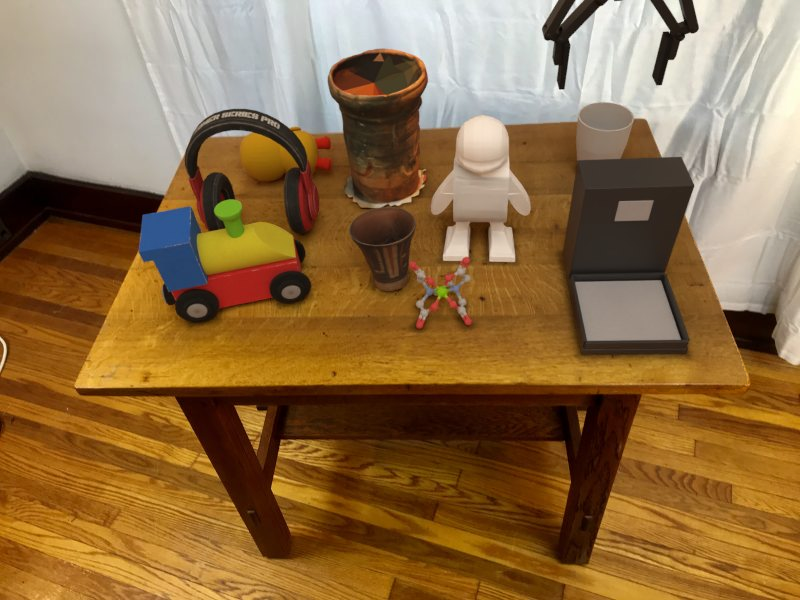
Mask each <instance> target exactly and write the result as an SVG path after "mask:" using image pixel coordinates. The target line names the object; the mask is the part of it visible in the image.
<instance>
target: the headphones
mask: <svg viewBox="0 0 800 600" xmlns="http://www.w3.org/2000/svg"><path fill="white" fill-rule="evenodd" d="M289 128H290V127H288V126H287V125H286V124H284V123H283V122H282V121H280V120H279V119H277V118H276V117H273V116H271V115H270V114H268V113H264V112H261V111H259V110H256V109H255V110H254V109H249V108H230V109H223V110H219V111H217V112H213V113H212V114H210V115H208V116H207V117H205V118H204V119H203V120H202V121H201V122H200V123H198V125H197V127H196V128H195V129H194V131H192V134H191V136H190V139H189V141H188V144H187V146H186V149H185V154H184V168H185V170H186V173H187V175H188V182H189V185H190V187H191V190H192V193H193V195H194V197H195V199H196V210H197V214H198V217H199V218H200V221H201V223H203V224H204V226H205V228H206V230H207V232H209V231H215V230H220V229H225V225H224V222H223V221H222V220H220V219H219V218H218V217H217V216H216V215H215V212H214V209H215V207H216V206H217V205H218V204H219V203H220V202H222V201H225V200H230V199H233V200H236V196H235V191H234V188H233V185H232V183H231V180H230V179H229V177H228V176H227V175H226V174H224V173H223V172H218V171H214V172H210V173H208V175H206V177H205V178H204V179H203V176H202V174H201V170H200V166H199V165H198V160H199V159H198V158H199V153H200V150H201V147H202V145H203V144H204V143H205V141H206V140H207V139H209V138H211V137H213V136H215V135H218V134H220V133H224V132H231V131H242V132H243V131H244V132H249V133H252V132H253V133H257V134H260V135H263V136H265V137H268V138H270V139H272V140H273V141H275V142H276V143H278V144H280V145H281V146H282V147H283V148H285V149H286V150H287V151H288V152H289V154H290V155H291V156H292V157H293V159H294V160H295V162H296V163H297V165H298V166H299V168H297V167H294V168H291V169H290V170H289V171H288V172H287V173H285V175H284V182H283V183H284V184H283V204H284V211H285V216H286V220H287V223H288V226H289V229H290V230H291V231H292V232H293V233H295V235H304V234H305V235H306V234H307V233H308V232H309V231H310V230H311V229H312V228H313V224H314V220H316V219H317V218H318V217H319V213H320V194H319V190H318V187H317V185H316V183H315V182H314V178H313V174H312V172H311V167H310V163H309V160H308V159H307V154H306V150H305V147H304V146H303V144H302V142H301V141H300V139H299V138H298V137H297V136H296V134H295V133H294V132H293V131H292V130H291V129H289Z"/></svg>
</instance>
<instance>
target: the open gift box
mask: <svg viewBox="0 0 800 600" xmlns="http://www.w3.org/2000/svg"><path fill="white" fill-rule="evenodd" d="M683 159H684V158H683V157H682V156H663V157H662V156H661V157H635V158H634V157H633V158H631V157H630V158H620V159H600V160H578V161H577V164H576V171H575V176H574V182H573V190H572V194H571V200H570V206H569V211H568V216H567V217H568V218H567V224H566V230H565V234H564V235H565V236H564V240H563V241H564V242H563V247H562V253H561V254H562V259H563V265H564V270H565V275H566V281H567V286H568V290H569V294H570V295H569V296H570V301H571V306H572V311H573V317H574V321H575V326H576V333H577V336H578V341H579V347H580V351H581V355H582V356H593V355H595V356H597V355H599V356H601V355H602V356H604V355H605V356H607V355H610V356H611V355H612V356H613V355H686V354H687V352H688V351H689V348H688V346H689V343H690V339H691V338H690V336H689V333H688V330H687V328H686V325H685V323H684V319H683V315H682V313H681V311H680V308H679V305H678V302H677V299H676V296H675V293H674V290H673V288H672V285H671V282H670V278H669V277H668V274H666V269H667V267H668V264H669V261H670V259H671V256H672V252H673V250H674V247H675V243H676V241H677V238H678V235H679V233H680V229H681V226H682V223H683V221H684V217H685V215H686V213H687V209H688V206H689V203H690V200H691V197H692V195H693V192H694V188H695V183H694V180H693V179H692V177H691V175H690V173H689V171H688V168H687V166H686V164H685V162H684V160H683Z"/></svg>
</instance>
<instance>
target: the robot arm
mask: <svg viewBox="0 0 800 600" xmlns="http://www.w3.org/2000/svg"><path fill="white" fill-rule="evenodd" d="M613 1H614V2H621V1H623V0H613ZM649 1H650V3H651V4H652V5H653V7H654V8H655V10H656V11H657V13H658V15H659V16H660V18H661V19H662V21H663V22H664V24H665V25H666V27H667V29H668V31H667V30H666V31H662V34H661V38H660V41H659V47H658V50H657V54H656V58H655V62H654V66H653V69H652V70H653V71H652V74H651V77H652V79H653V81H654V83H655V86H663V84H664V83H663V82H664V79H665V75H666V71H667V67H668V65H669V61H674V60H675V59H676V57H677V56H678V51H679V48H680V44H681V42H683V41H684V40H685V38H686V35H688V34H696V33H698V31H699V29H700V25H699V21H698V18H697V13H696V9H695V8H696V7H695V4H694V0H678V3H679V7H680V11H681V15H682V19H683V20H682V21H680V22H678V20H677V19H676V17H675V15H674V14H673V13H672V11H671V9H670V8H669V6H668V5H667V3H666V1H665V0H649ZM575 2H576V0H557V1H556V3H555V5H554V6H553V8H552V10H551V11H550V14H549V15H548V17H547V19H546V20H545V22H544V23H543V25H542V27H541V32H542V36H543V39H544V40H545V41H546V42H549V41H551V42H553V47H552V56H551V58H552V61H553V65H554V66H557V74H556V75H557V76H556V83H557V87H558V90H559V91H561V90H565V88H566V82H567V74H568V69H569V68H568V67H569V60H570V54H571V53H570V52H571V42H570V38H571V37H572V36H573V35H574V34H575V33H577V31H578V30H579V29H580V28H581V27H582V26H583V24H585V23H586V22H587V21H588V19H590V17H591V16H593V14H594V13H595V12H596V11H597V10H598V9H599V8H600V7H603V6H604V5H605V4H607V2H609V0H583V1H581V2H580V3H579V5H578V6H577V7H576V8H575V9H574V10H573V11H572V12H571V13H570V14H569V15H568V13H569V12H570V10H571V9H572V7H573V6H574V4H575ZM567 16H568V17H567ZM565 18H566V19H565Z"/></svg>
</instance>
